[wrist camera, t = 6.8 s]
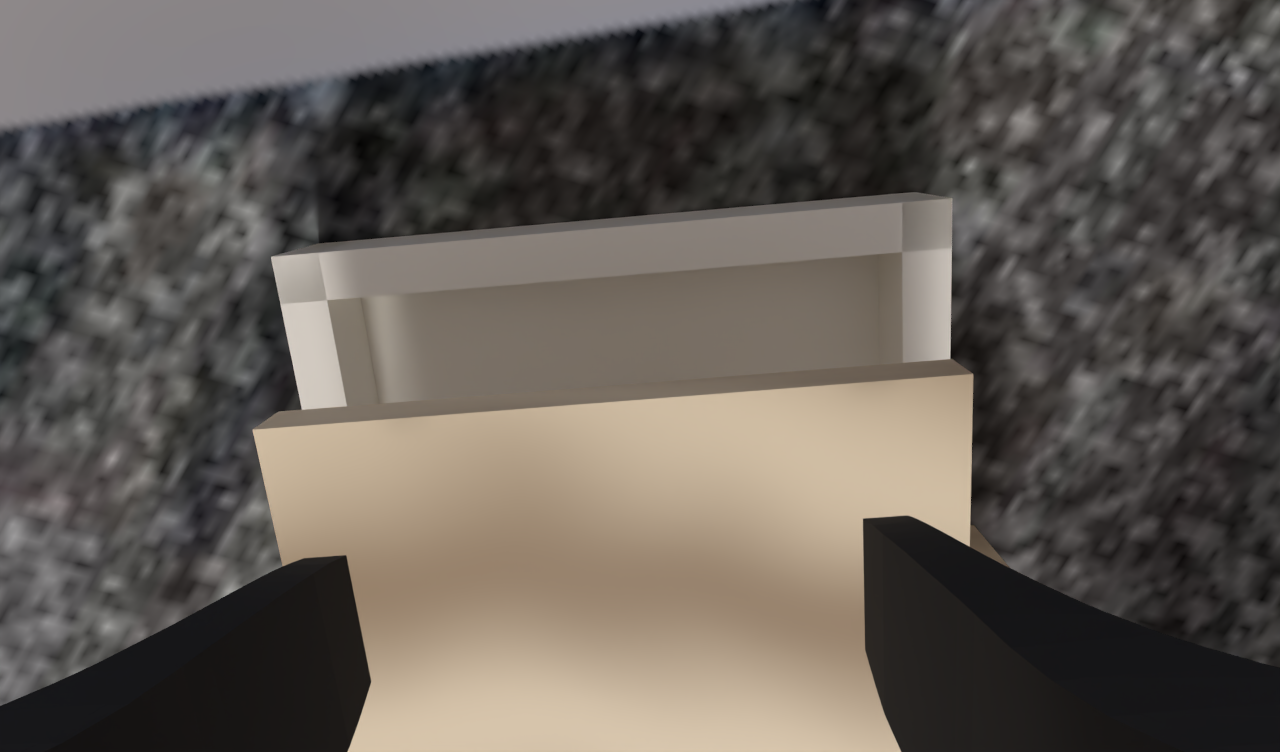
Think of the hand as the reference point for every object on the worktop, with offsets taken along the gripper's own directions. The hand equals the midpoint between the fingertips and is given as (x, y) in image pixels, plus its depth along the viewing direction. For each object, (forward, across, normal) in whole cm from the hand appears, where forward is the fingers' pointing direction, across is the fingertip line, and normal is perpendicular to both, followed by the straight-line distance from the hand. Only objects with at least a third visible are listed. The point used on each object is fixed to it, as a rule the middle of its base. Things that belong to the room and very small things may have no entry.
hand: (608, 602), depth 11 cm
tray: (+9, 0, 0) cm, 9 cm away
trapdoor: (+3, 0, +6) cm, 7 cm away
